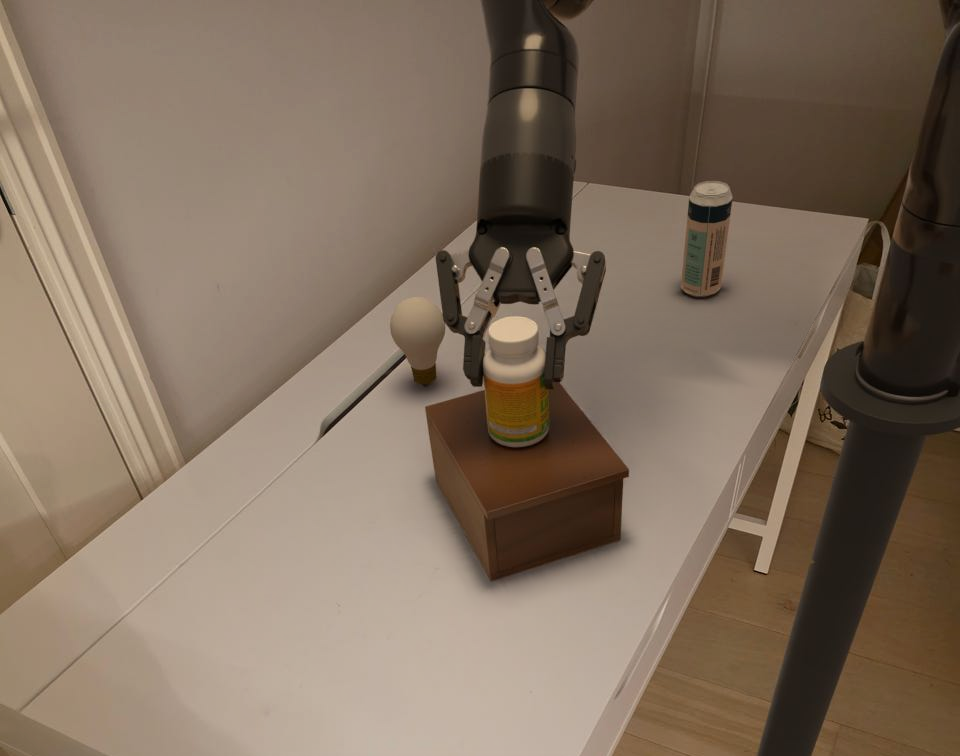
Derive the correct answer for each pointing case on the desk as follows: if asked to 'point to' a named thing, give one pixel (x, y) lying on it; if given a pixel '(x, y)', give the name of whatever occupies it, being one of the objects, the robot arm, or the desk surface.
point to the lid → (525, 454)
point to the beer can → (706, 238)
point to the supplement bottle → (515, 383)
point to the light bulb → (419, 335)
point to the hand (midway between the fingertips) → (512, 385)
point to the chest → (529, 521)
